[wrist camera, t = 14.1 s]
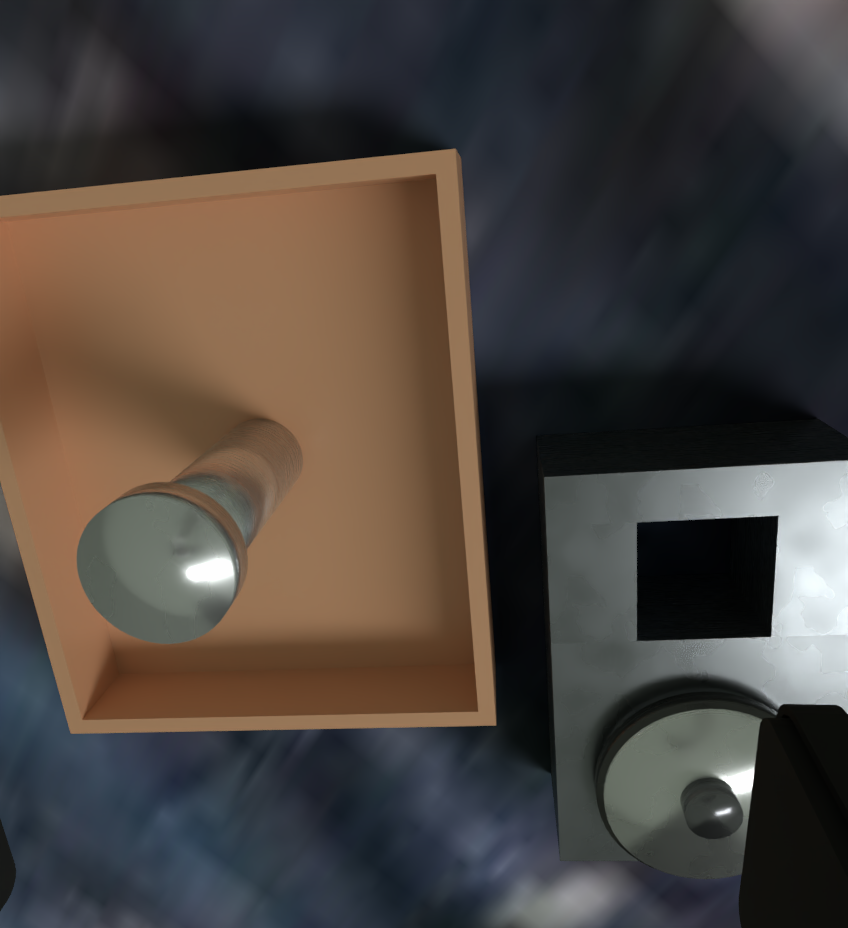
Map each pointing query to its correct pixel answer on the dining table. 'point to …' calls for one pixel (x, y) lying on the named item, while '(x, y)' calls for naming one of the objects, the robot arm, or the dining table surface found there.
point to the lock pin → (187, 536)
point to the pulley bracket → (684, 629)
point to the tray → (249, 397)
